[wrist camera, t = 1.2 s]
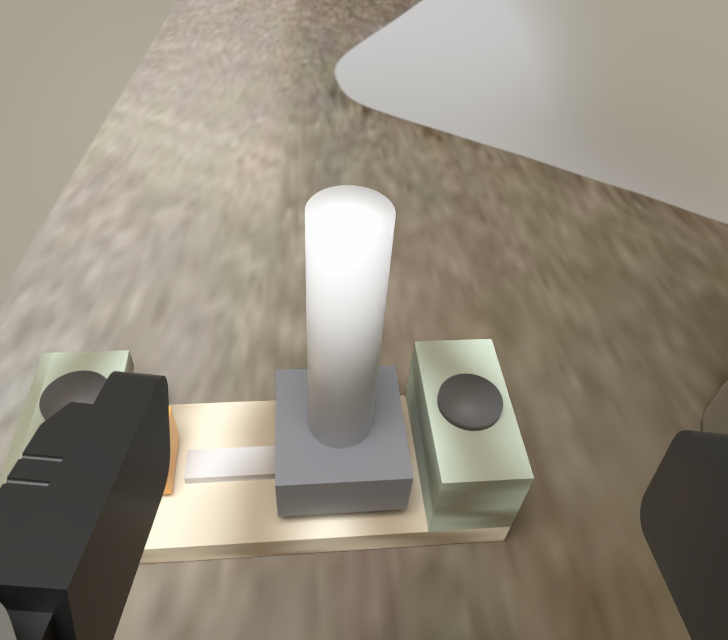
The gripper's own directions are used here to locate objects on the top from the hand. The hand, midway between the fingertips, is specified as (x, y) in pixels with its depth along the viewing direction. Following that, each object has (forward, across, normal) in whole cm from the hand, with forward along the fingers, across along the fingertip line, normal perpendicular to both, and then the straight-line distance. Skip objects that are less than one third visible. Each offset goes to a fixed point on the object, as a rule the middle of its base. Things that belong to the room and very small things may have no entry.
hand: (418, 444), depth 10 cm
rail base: (+16, +3, +18) cm, 24 cm away
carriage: (+16, 0, +16) cm, 22 cm away
